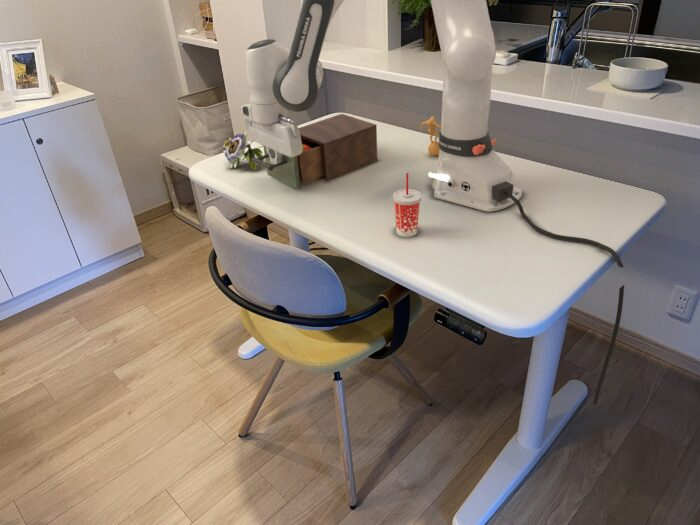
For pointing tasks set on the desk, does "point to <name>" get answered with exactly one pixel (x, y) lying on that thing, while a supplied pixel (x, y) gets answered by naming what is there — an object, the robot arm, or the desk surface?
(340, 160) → the cabinet
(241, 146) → the passion flower
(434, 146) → the figurine
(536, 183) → the desk surface
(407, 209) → the beverage cup
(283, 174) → the drawer
